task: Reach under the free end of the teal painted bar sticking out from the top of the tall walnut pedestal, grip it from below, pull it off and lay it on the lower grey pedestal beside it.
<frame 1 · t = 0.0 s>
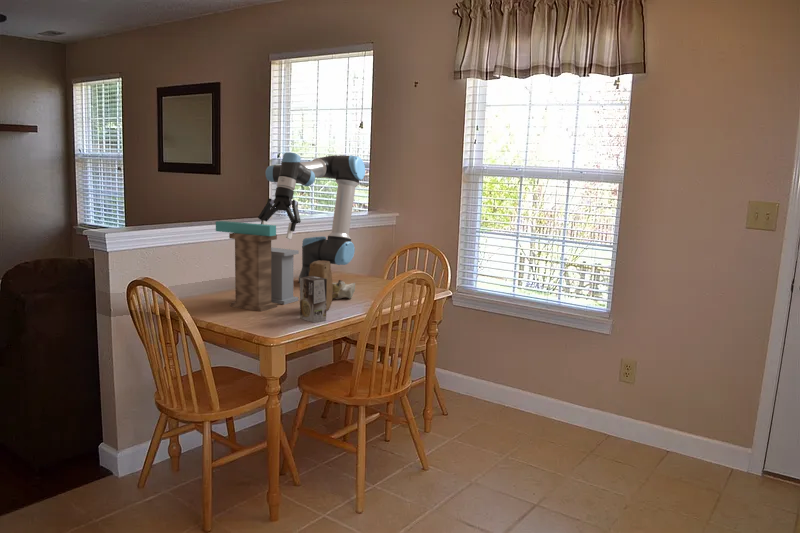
hand: (275, 237, 258), 28 cm above the table, fingers open, 13 cm apart
low stand: (276, 300, 267), on the table
ceramic sculpture: (338, 299, 276), on the table
brown bread chunk: (320, 309, 253), on the table
bar: (245, 233, 251), point 30 cm above the table, touching tall stand
coffee box: (313, 319, 236), on the table
tall stand: (253, 306, 254), on the table
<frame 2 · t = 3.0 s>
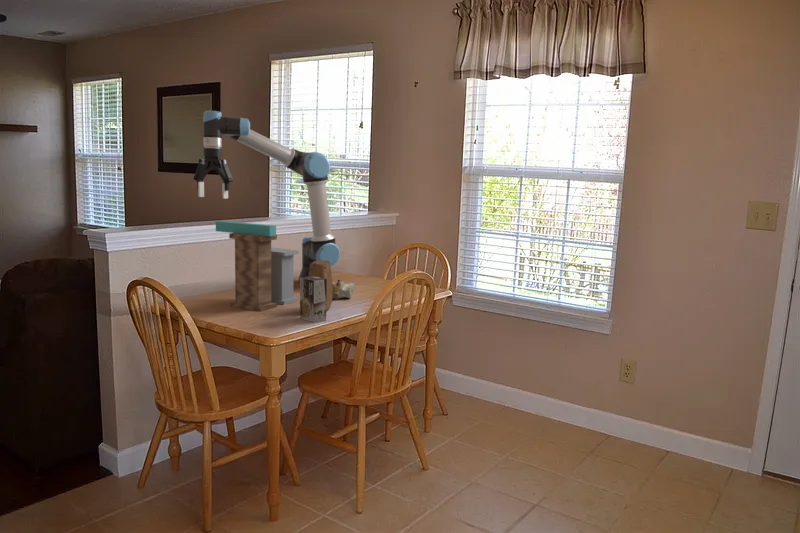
hand: (213, 197, 268), 43 cm above the table, fingers open, 13 cm apart
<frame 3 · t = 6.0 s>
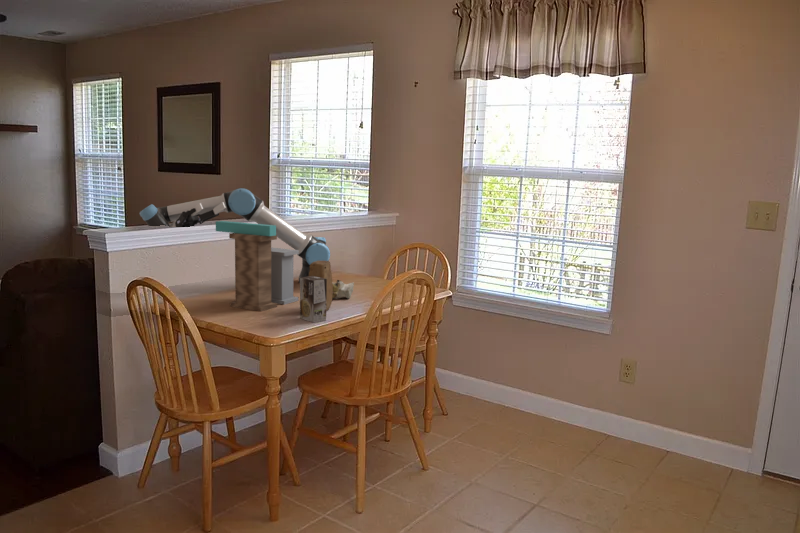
hand: (213, 205, 265), 40 cm above the table, fingers open, 13 cm apart
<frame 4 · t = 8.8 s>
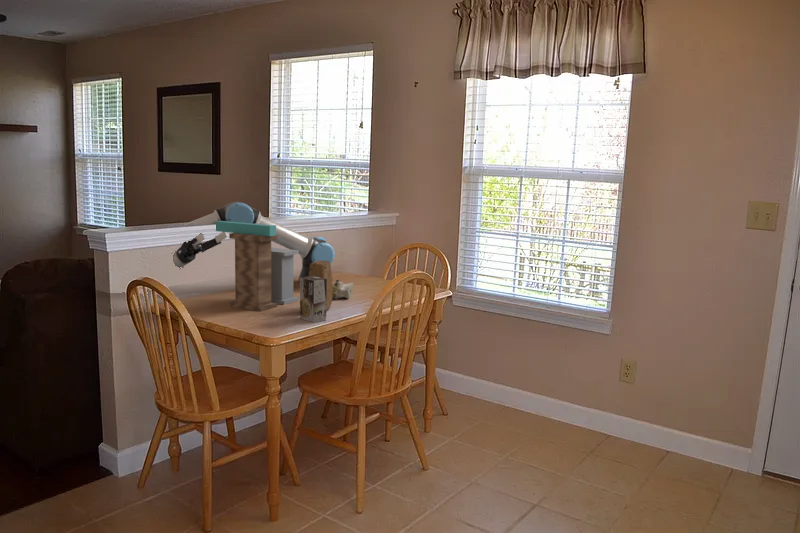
hand: (214, 234, 258), 28 cm above the table, fingers open, 13 cm apart
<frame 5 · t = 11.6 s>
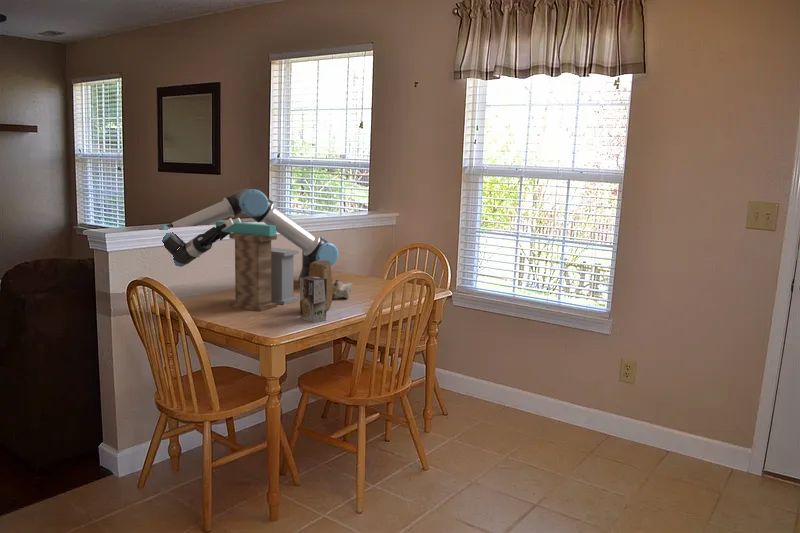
hand: (235, 221, 253), 35 cm above the table, fingers closed on bar, 4 cm apart
bar: (245, 233, 251), point 30 cm above the table, touching gripper, tall stand
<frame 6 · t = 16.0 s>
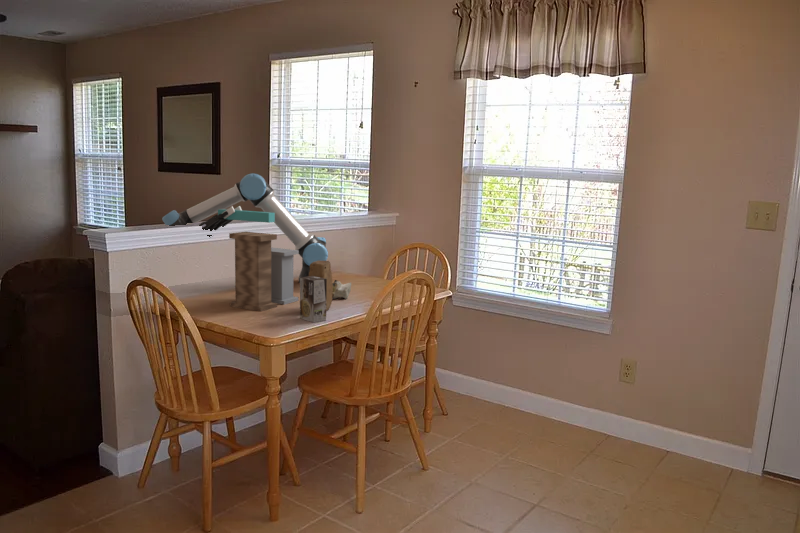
hand: (237, 209, 270), 38 cm above the table, fingers closed on bar, 4 cm apart
bar: (245, 220, 269), point 34 cm above the table, touching gripper
when the fingers open (29 cm above the table, at t = 20.6 s): bar drops 2 cm, resting on low stand.
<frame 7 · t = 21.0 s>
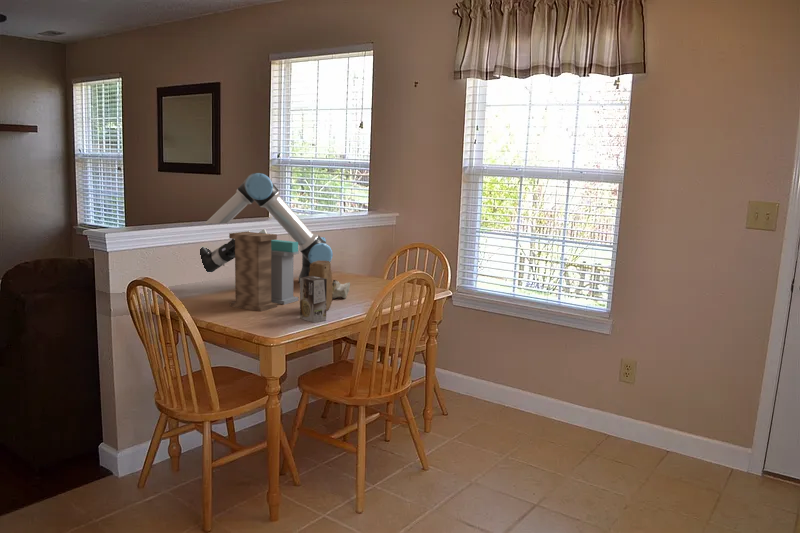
hand: (258, 232, 267), 29 cm above the table, fingers open, 9 cm apart
bar: (268, 249, 266), point 22 cm above the table, touching low stand
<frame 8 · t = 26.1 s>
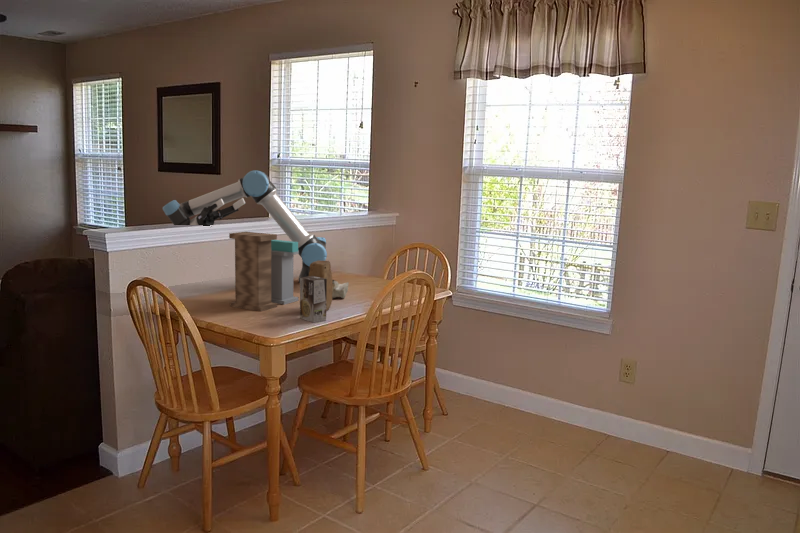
hand: (233, 200, 272), 42 cm above the table, fingers open, 13 cm apart
at the end: bar inside the target area on the low stand (0.6 cm from its centre), point 22.0 cm above the low stand's base; bar tilted 0°; the gripper is holding nothing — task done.
